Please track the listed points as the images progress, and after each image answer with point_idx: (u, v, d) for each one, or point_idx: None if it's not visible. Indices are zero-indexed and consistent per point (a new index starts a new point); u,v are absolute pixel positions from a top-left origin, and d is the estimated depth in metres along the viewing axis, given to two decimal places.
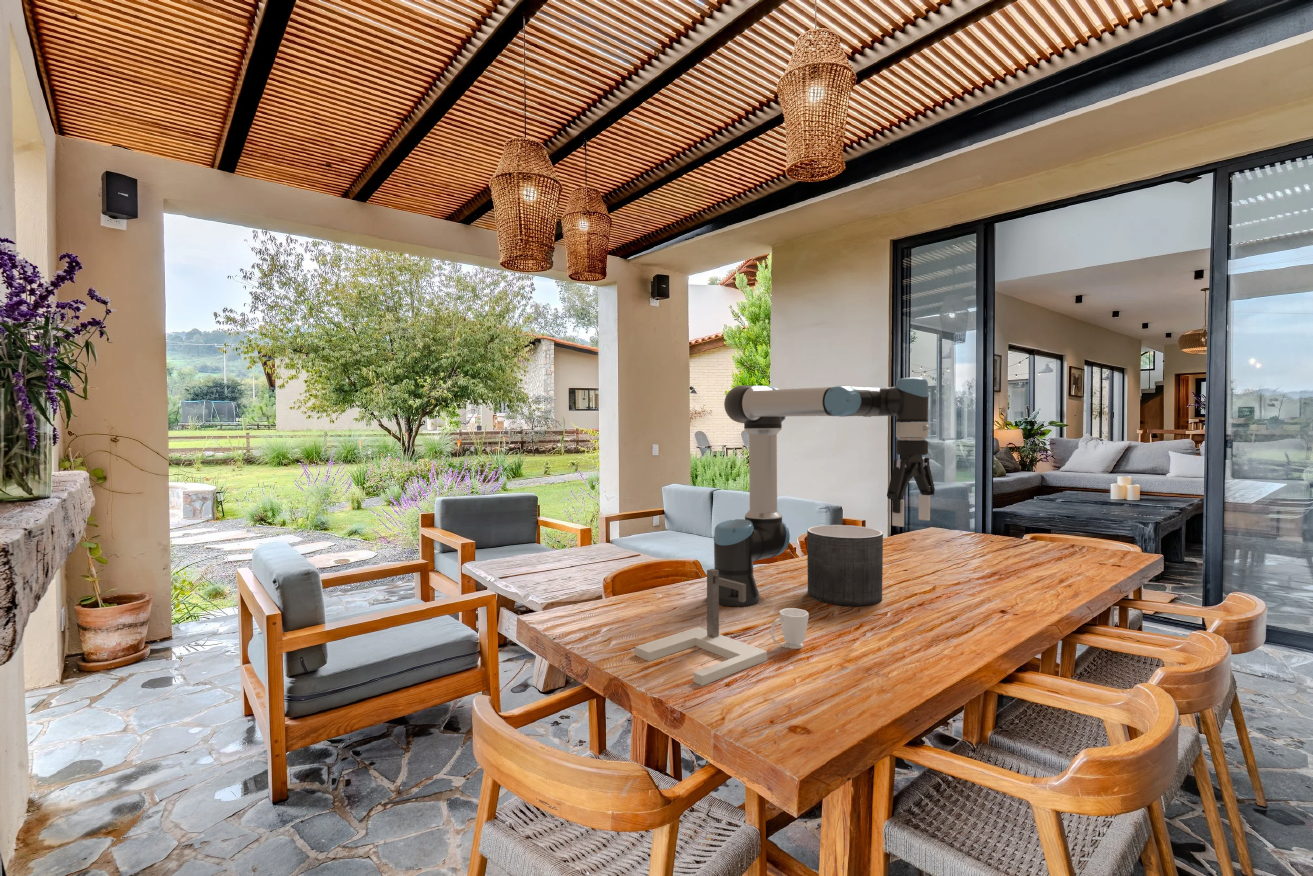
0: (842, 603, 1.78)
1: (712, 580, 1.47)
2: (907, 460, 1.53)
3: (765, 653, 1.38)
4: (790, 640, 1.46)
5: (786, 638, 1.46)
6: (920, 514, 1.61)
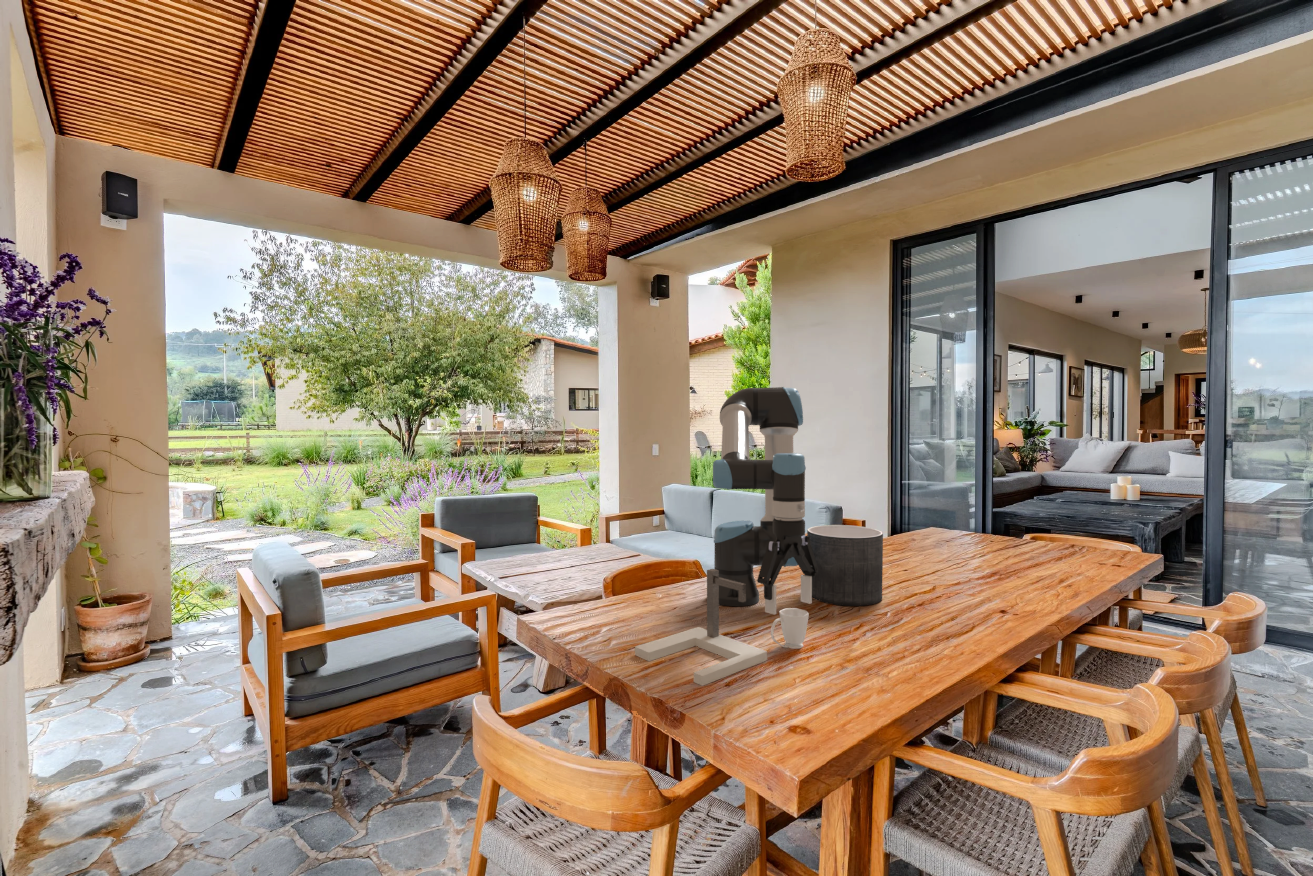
0: (842, 603, 1.78)
1: (712, 580, 1.47)
2: (781, 542, 1.43)
3: (765, 653, 1.38)
4: (790, 640, 1.46)
5: (786, 638, 1.46)
6: (802, 596, 1.51)
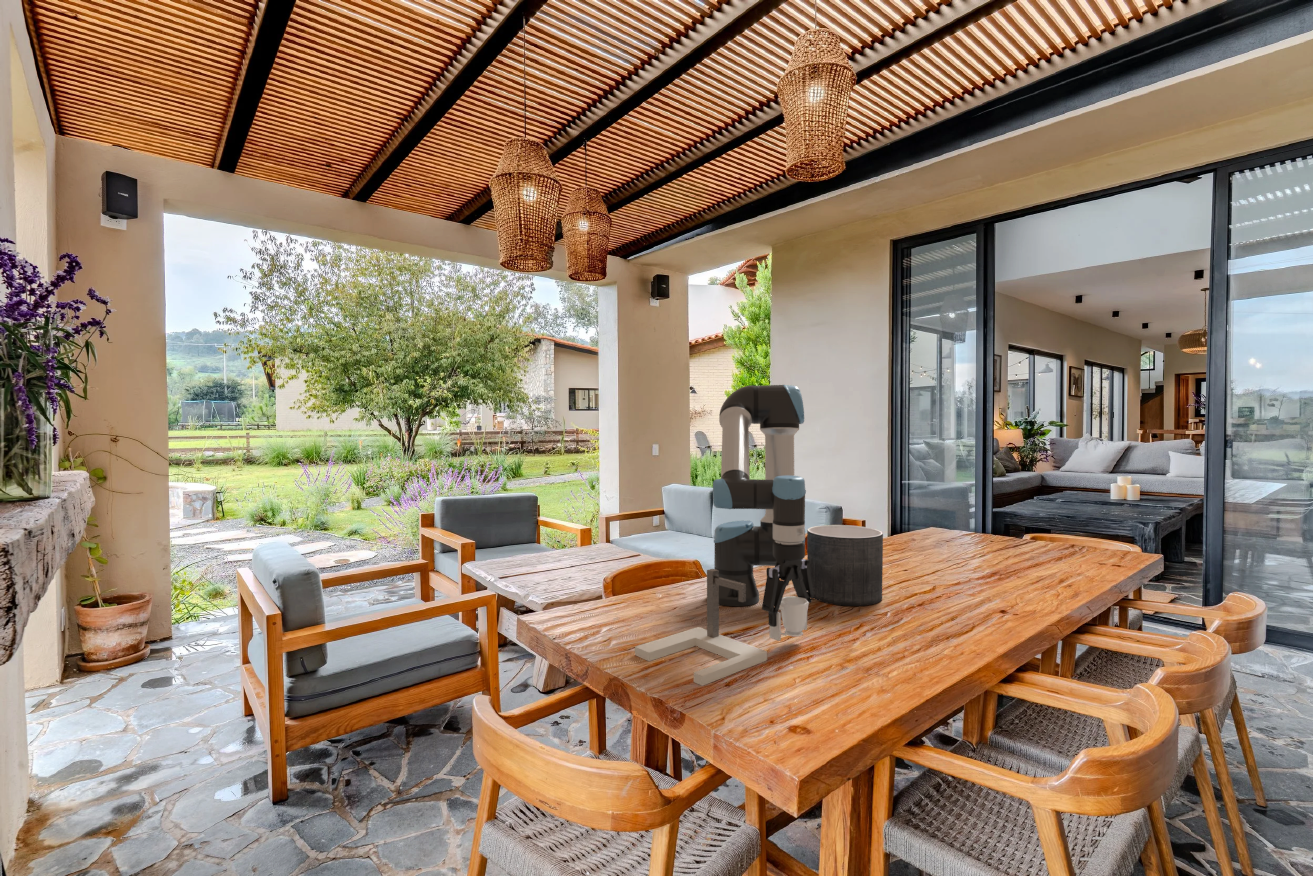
0: (842, 603, 1.78)
1: (712, 580, 1.47)
2: (780, 566, 1.43)
3: (765, 653, 1.38)
4: (790, 628, 1.46)
5: (786, 626, 1.47)
6: None
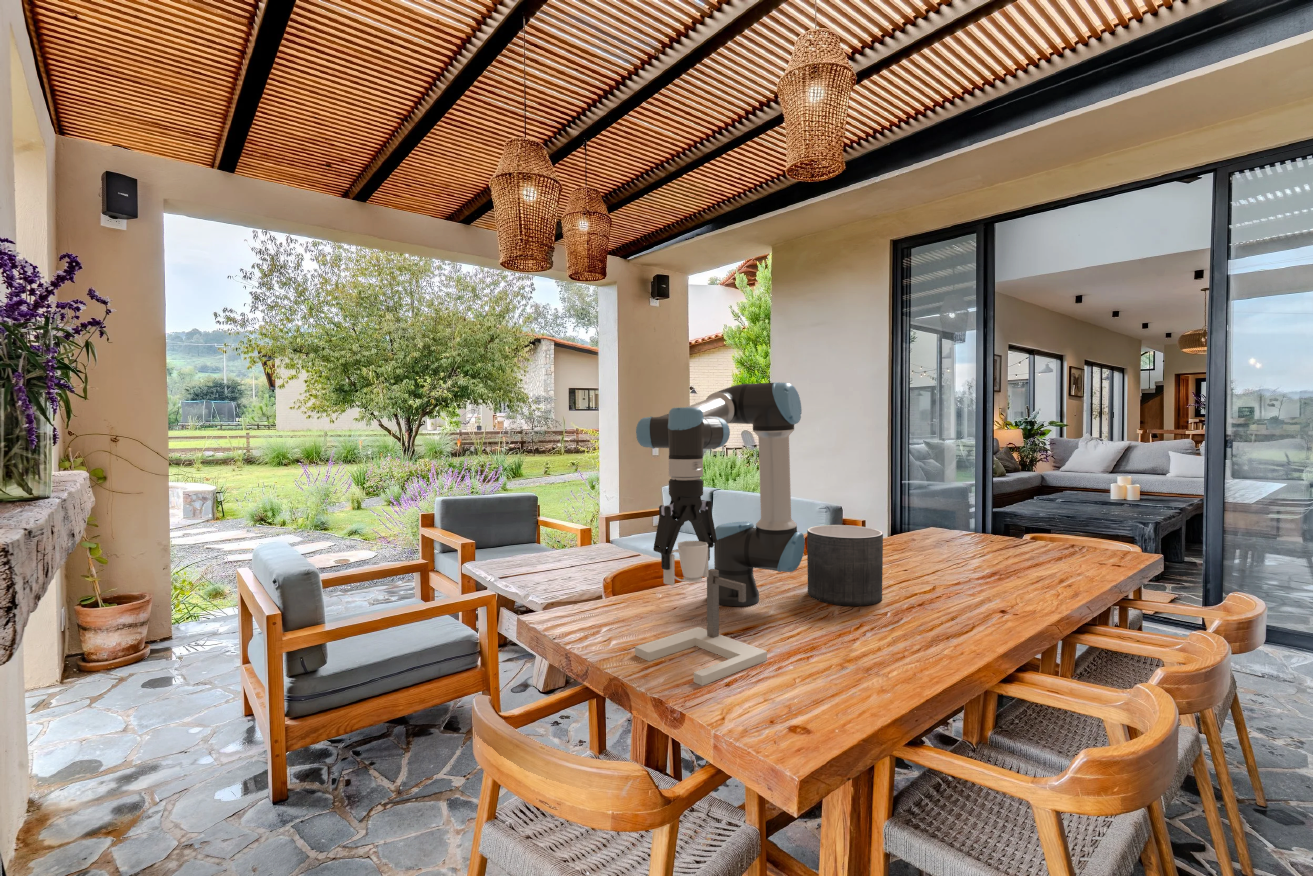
0: (842, 603, 1.78)
1: (712, 580, 1.47)
2: (675, 504, 1.31)
3: (765, 653, 1.38)
4: (687, 573, 1.34)
5: (683, 571, 1.34)
6: None
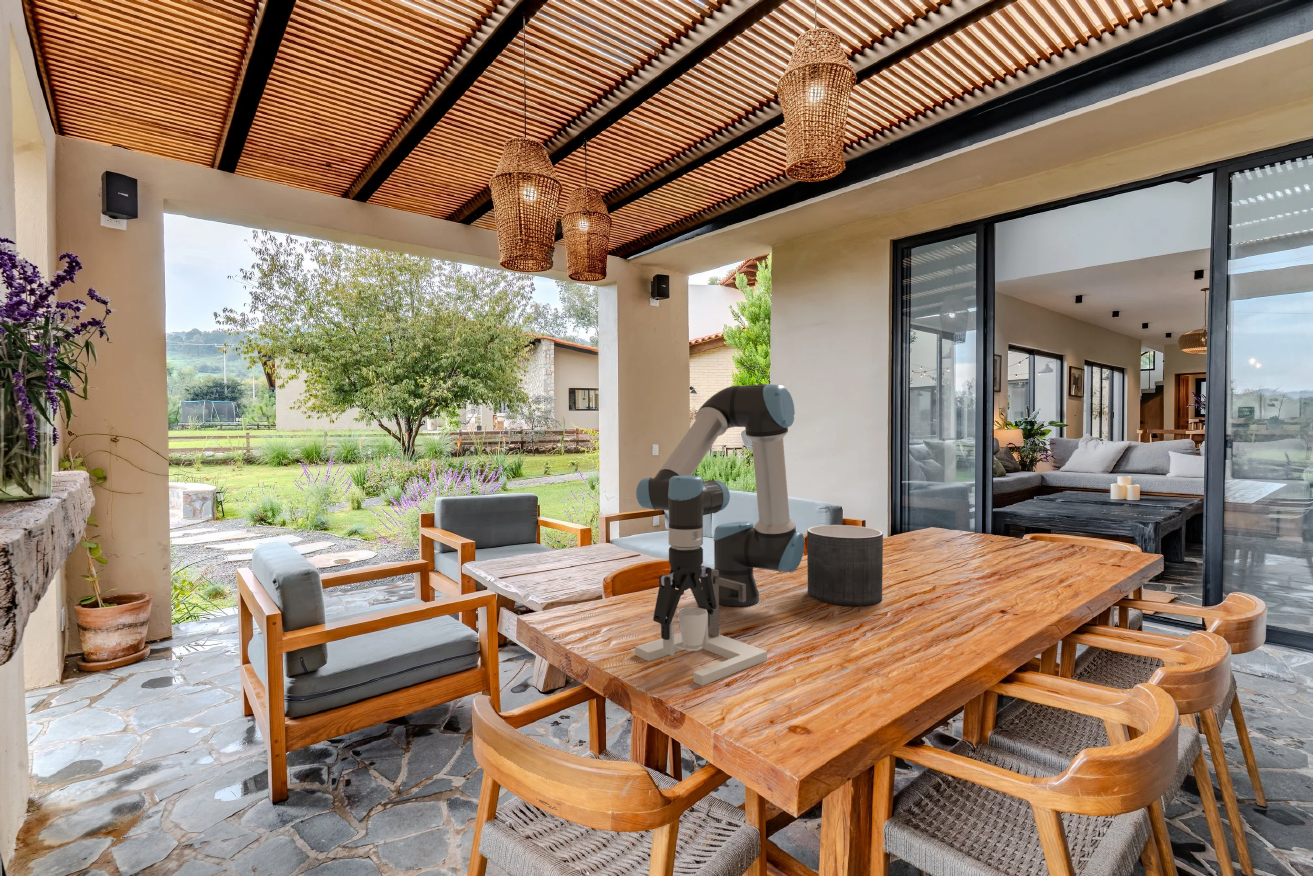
0: (842, 603, 1.78)
1: (712, 580, 1.47)
2: (674, 574, 1.32)
3: (765, 653, 1.38)
4: (687, 642, 1.34)
5: (683, 639, 1.35)
6: None
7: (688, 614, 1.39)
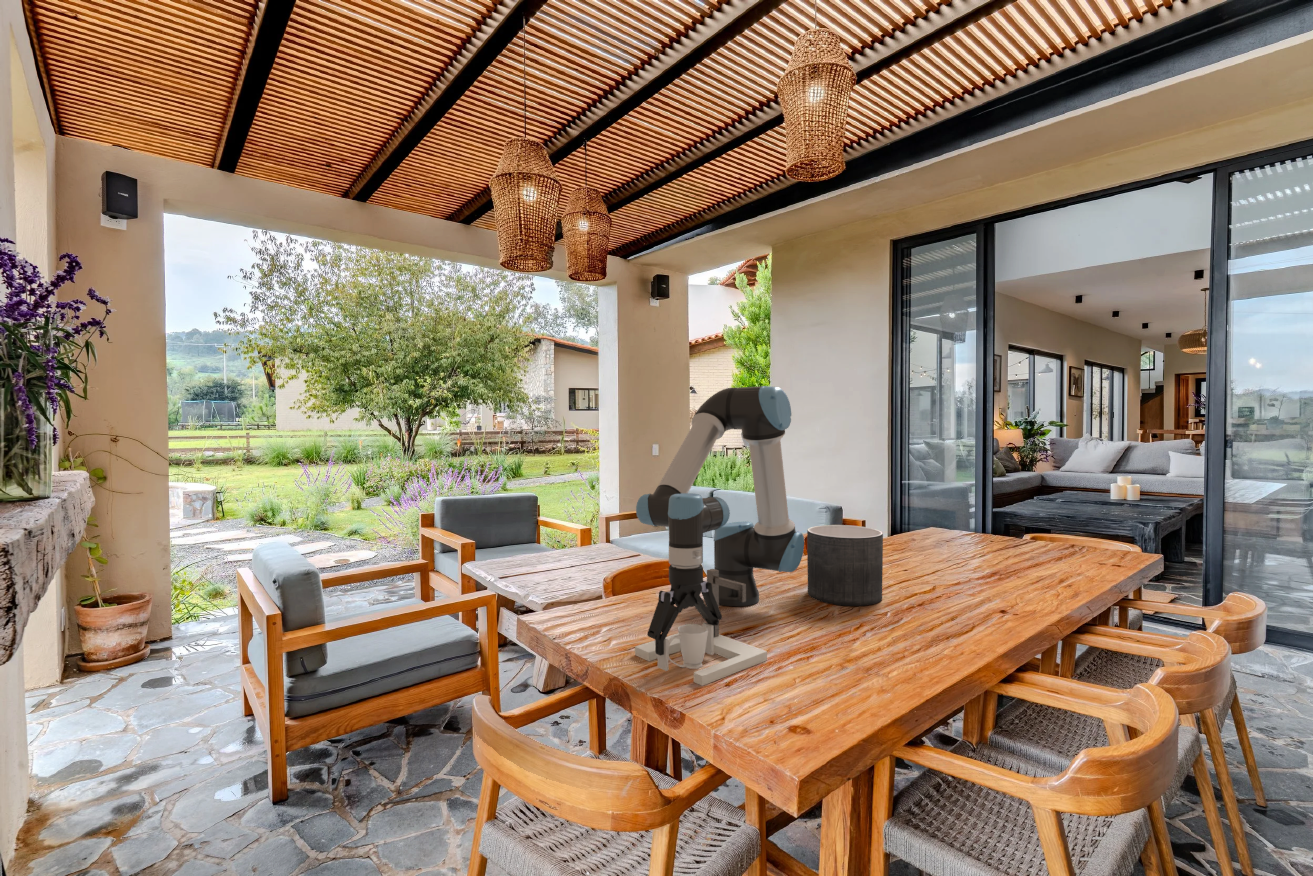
0: (842, 603, 1.78)
1: (712, 580, 1.47)
2: (675, 592, 1.32)
3: (765, 653, 1.38)
4: (687, 659, 1.34)
5: (683, 657, 1.35)
6: None
7: (688, 631, 1.39)
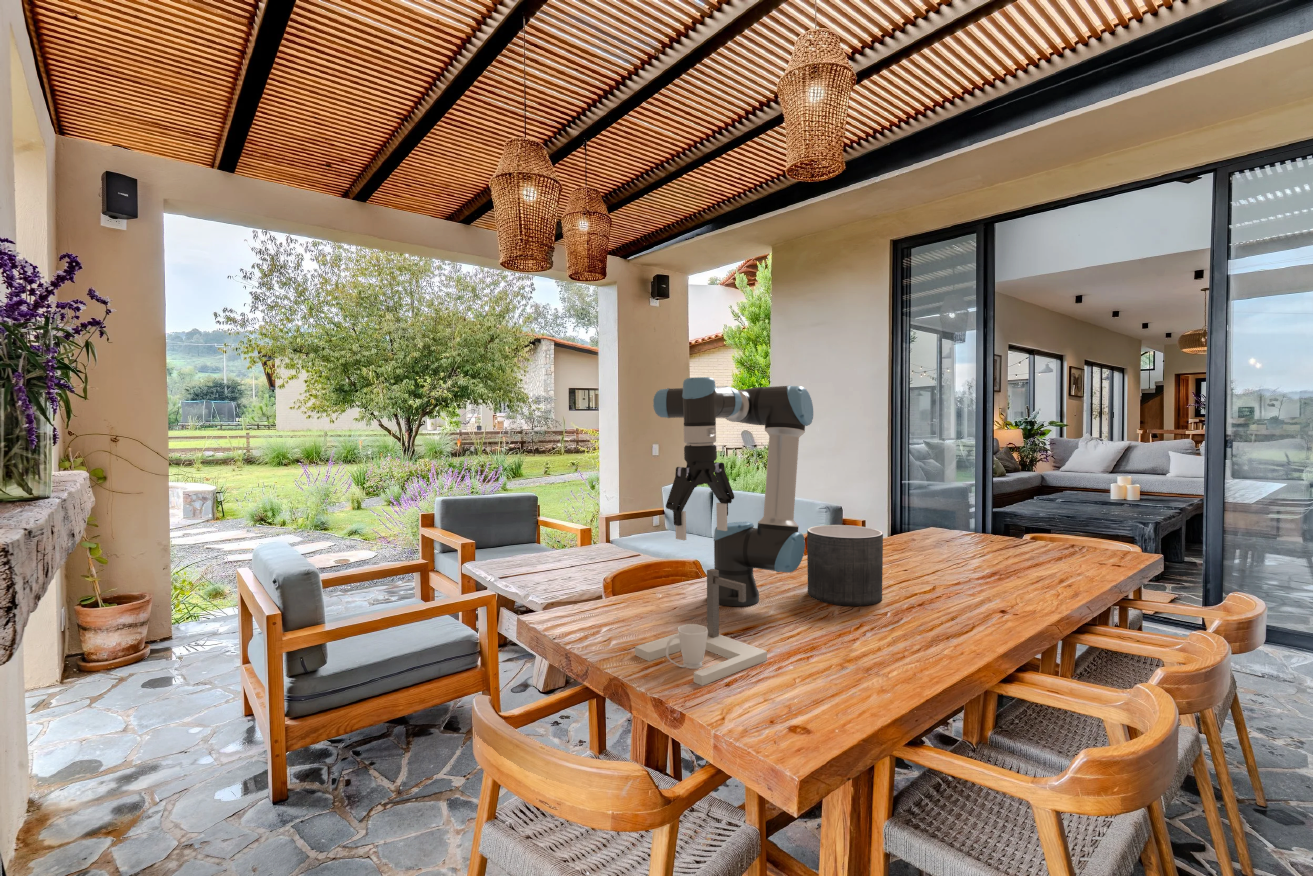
0: (842, 603, 1.78)
1: (712, 580, 1.47)
2: (691, 467, 1.40)
3: (765, 653, 1.38)
4: (687, 659, 1.34)
5: (683, 657, 1.35)
6: (718, 524, 1.49)
7: (688, 631, 1.39)
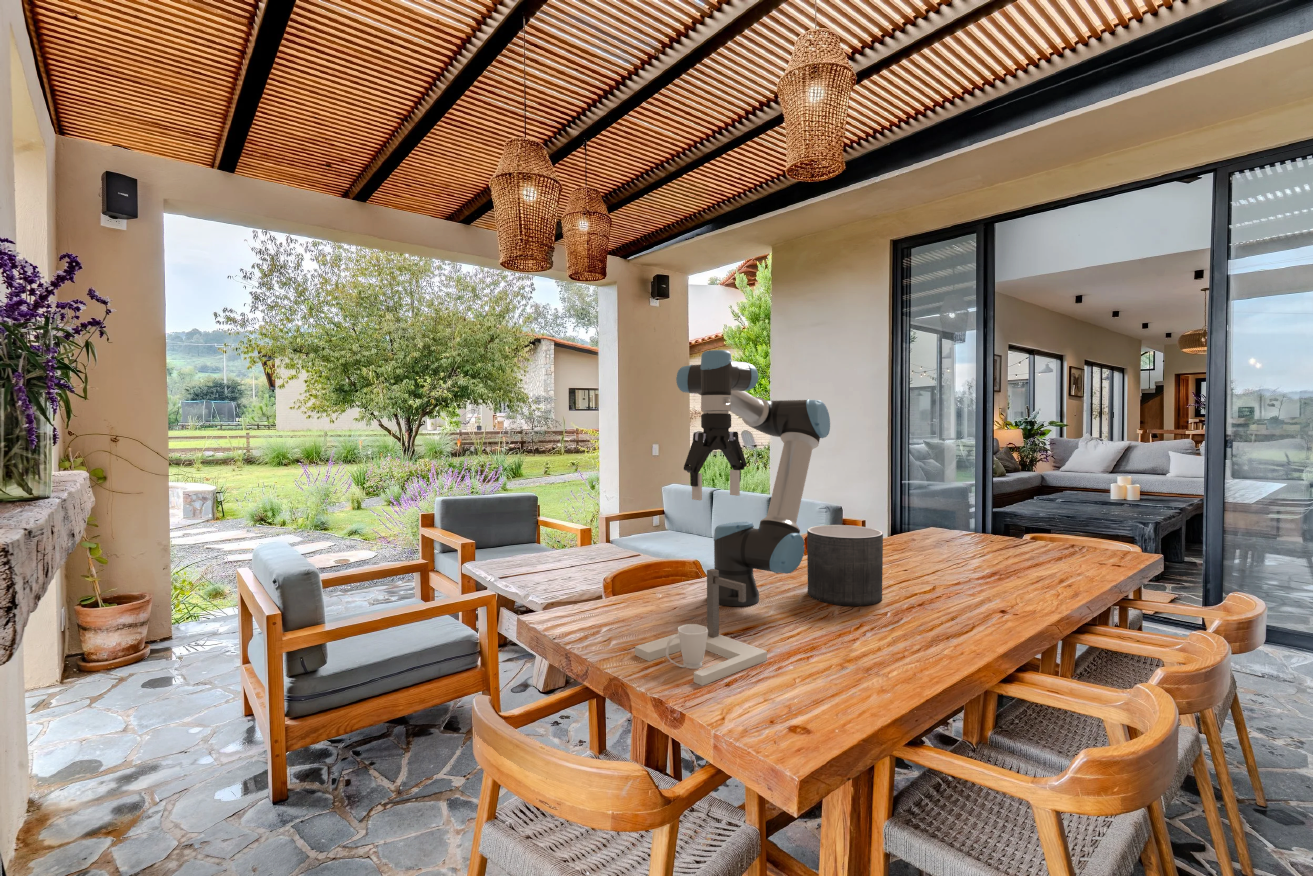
0: (842, 603, 1.78)
1: (712, 580, 1.47)
2: (707, 433, 1.51)
3: (765, 653, 1.38)
4: (687, 659, 1.34)
5: (683, 657, 1.35)
6: (731, 489, 1.59)
7: (688, 631, 1.39)
